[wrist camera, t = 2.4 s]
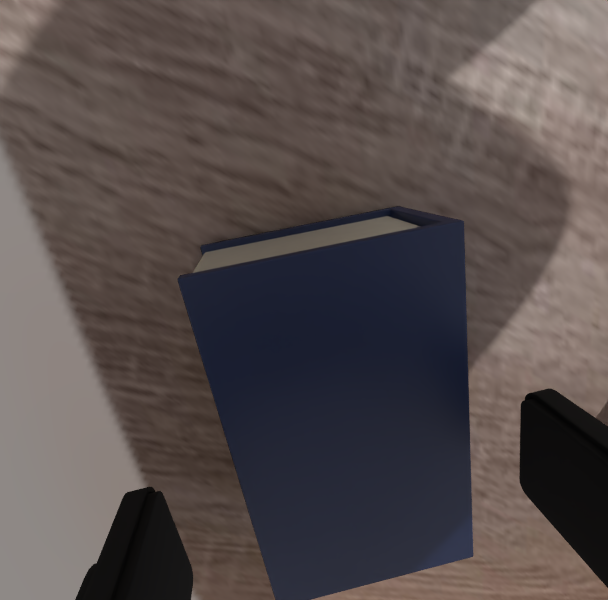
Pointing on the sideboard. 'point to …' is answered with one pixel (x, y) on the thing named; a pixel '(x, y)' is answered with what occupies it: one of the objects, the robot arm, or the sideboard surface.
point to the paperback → (343, 393)
